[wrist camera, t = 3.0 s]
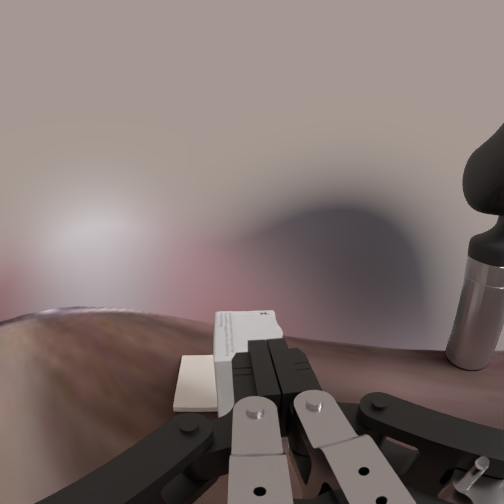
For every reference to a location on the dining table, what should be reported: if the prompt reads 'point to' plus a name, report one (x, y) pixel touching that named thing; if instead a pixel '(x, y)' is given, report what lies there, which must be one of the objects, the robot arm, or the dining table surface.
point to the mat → (196, 385)
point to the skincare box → (237, 346)
